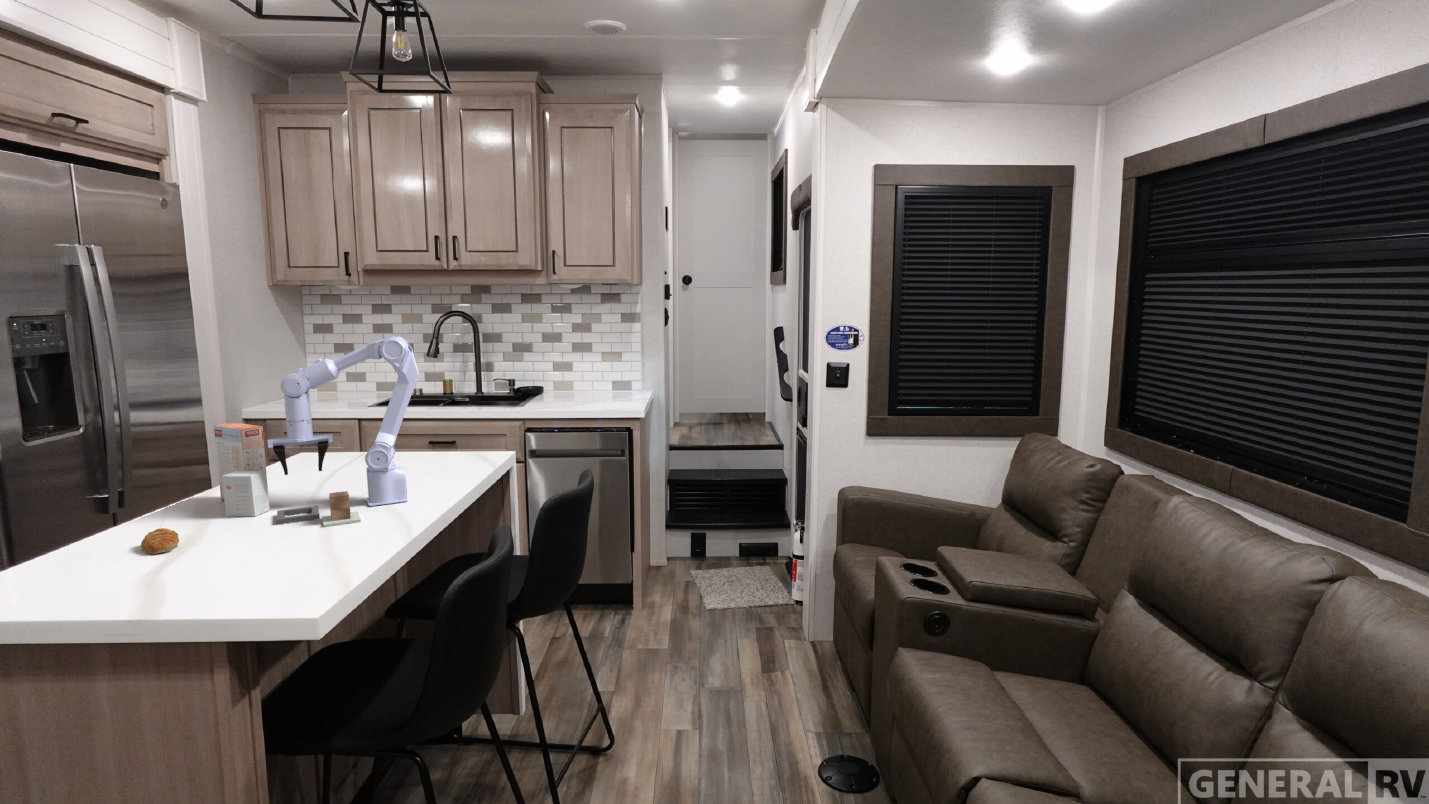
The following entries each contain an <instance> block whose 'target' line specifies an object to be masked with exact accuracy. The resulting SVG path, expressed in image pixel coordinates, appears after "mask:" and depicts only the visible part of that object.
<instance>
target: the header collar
mask: <svg viewBox="0 0 1429 804" xmlns="http://www.w3.org/2000/svg"><path fill="white" fill-rule="evenodd" d="M309 512H311V513H309ZM300 513H303V514H300ZM295 514H296V515H295ZM285 515H288V516H285ZM315 519H316V520H320V510H319V505H313V506H305V507H296V508H288V509H282V510H281V509H280V510H279V509H278V510H277V511H276V522H277V524H279V525H285V524H284V523H287V524H290V523H289V522H294V523H300V522H299V521H301V522H307V520H308V521H314V520H315ZM316 520H315V521H316Z"/></svg>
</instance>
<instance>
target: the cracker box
mask: <svg viewBox="0 0 1429 804" xmlns="http://www.w3.org/2000/svg"><path fill="white" fill-rule="evenodd" d="M213 431H214V440H215V441H214V442H215V449H216V450H215V451H216V459H217V461H216V462H217V471H218V480H219V491H220V501H222V502H224V494H223V486H222V477H221V476H223V475H226V474H229V473H232V472H235V471H265V472H266V480H267V481H268V475H267V464H266V453H265V451H266V450H265V442H264V431H263V426H261V425H254V424H247V423H240V422H225V423H219V424H214V425H213ZM267 489H268V485H267ZM268 490H269V489H268ZM268 498H269V496H268Z"/></svg>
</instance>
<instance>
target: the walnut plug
mask: <svg viewBox="0 0 1429 804" xmlns="http://www.w3.org/2000/svg"><path fill="white" fill-rule="evenodd" d="M328 495H329V496H328V497H329V507H330V508H329V509H330V515H331V519H332V521H338V520H345V519H351V516H350V512H351V506H350V505H351V504H350V494H349V491H347V490H346V491H345V490H344V491H337V492H329V493H328Z"/></svg>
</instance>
